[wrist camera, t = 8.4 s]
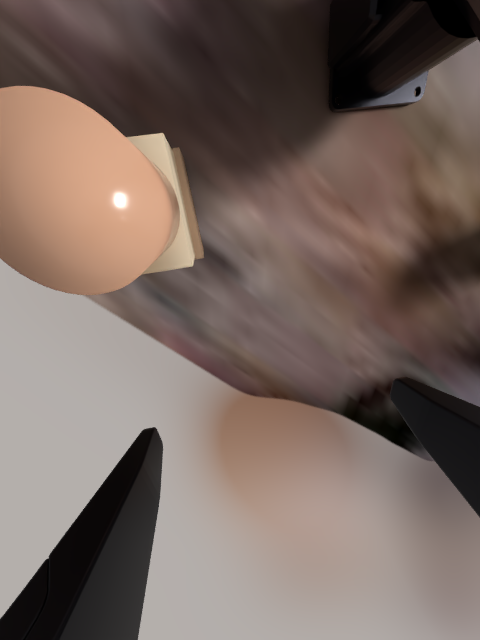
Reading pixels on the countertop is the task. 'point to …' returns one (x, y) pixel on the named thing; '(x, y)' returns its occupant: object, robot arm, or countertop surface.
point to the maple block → (182, 246)
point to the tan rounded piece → (77, 196)
